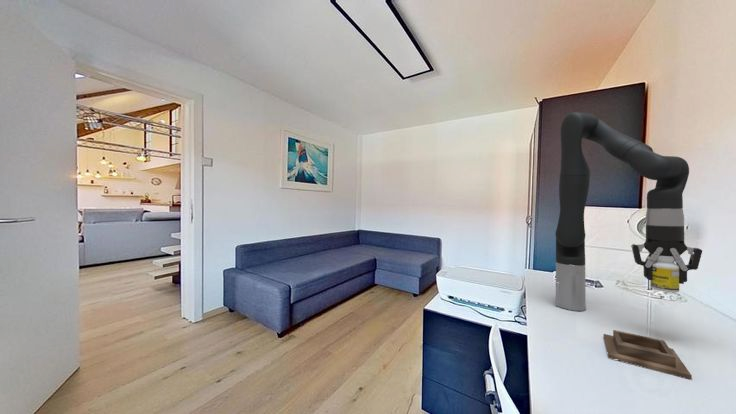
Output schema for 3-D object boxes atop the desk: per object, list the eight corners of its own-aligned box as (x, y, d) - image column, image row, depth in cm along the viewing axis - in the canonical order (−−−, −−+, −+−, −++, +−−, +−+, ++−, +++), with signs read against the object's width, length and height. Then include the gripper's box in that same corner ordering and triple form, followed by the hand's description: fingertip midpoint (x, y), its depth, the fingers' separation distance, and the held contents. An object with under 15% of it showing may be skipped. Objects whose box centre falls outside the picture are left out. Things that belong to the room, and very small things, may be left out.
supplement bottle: (644, 287, 80) (644, 253, 80) (661, 286, 80) (661, 253, 80) (668, 293, 74) (667, 257, 74) (685, 292, 75) (685, 256, 74)
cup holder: (608, 358, 68) (608, 344, 68) (603, 337, 79) (603, 325, 79) (691, 379, 60) (691, 364, 60) (673, 352, 71) (672, 339, 71)
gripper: (632, 224, 78) (632, 280, 78) (708, 225, 70) (708, 289, 70) (627, 222, 84) (628, 275, 84) (697, 224, 76) (697, 282, 76)
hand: (664, 281), depth 77 cm, fingers closed on supplement bottle, 5 cm apart
